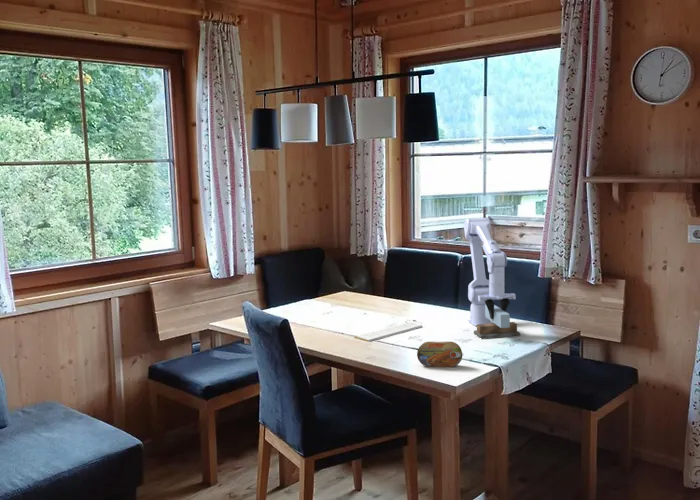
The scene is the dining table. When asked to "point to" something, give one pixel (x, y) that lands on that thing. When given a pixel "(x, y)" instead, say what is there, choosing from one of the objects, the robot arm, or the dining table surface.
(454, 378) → the dining table surface
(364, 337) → the baseboard
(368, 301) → the dining table surface
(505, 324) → the beam
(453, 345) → the tin
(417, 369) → the dining table surface
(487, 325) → the stand
